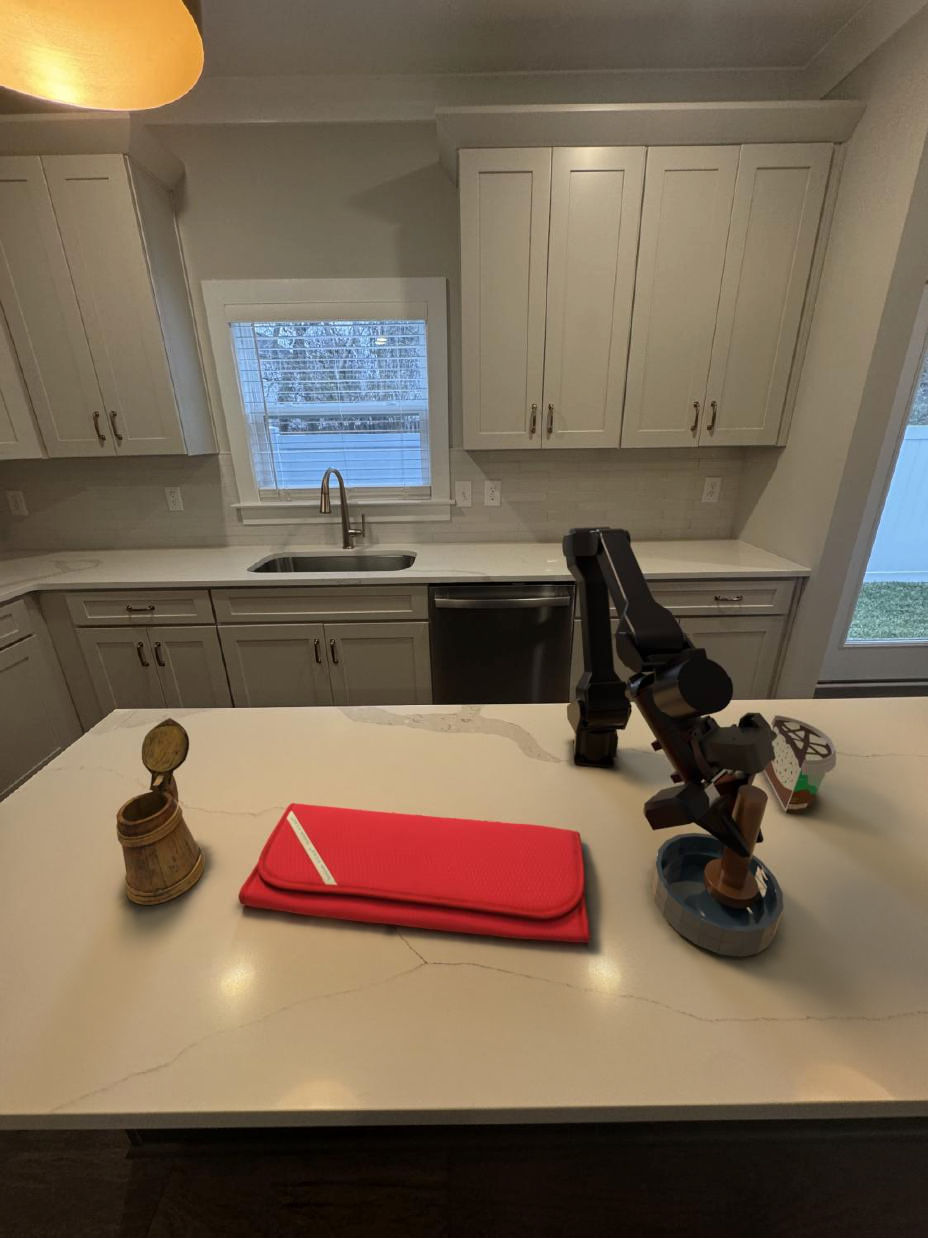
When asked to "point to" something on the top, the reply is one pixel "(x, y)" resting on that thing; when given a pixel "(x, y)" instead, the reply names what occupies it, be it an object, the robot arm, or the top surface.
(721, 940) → the bowl
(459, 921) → the red folding pouch
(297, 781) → the top surface
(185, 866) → the wooden mug
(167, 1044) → the top surface
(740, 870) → the stirring pestle
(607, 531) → the robot arm
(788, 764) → the food container
